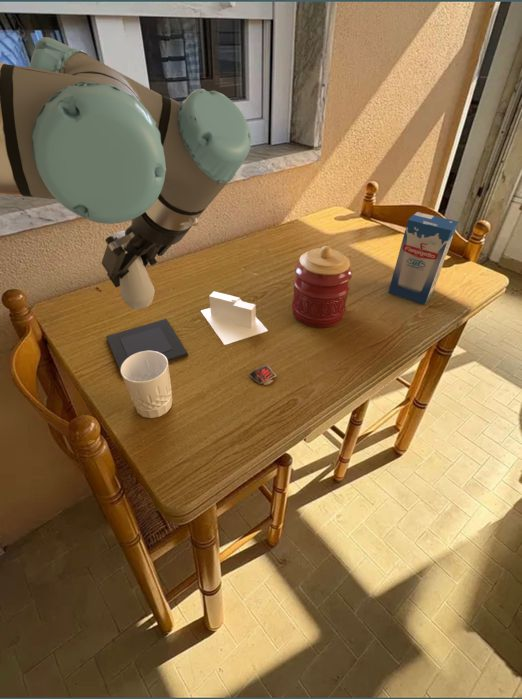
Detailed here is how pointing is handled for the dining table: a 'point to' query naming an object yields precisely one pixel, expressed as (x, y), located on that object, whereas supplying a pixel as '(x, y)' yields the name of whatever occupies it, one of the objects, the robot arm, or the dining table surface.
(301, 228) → the dining table surface
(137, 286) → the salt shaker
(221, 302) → the napkin holder
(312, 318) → the kitchen canister
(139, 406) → the white cup
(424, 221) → the milk carton
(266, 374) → the matchbox
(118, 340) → the rubber pad
